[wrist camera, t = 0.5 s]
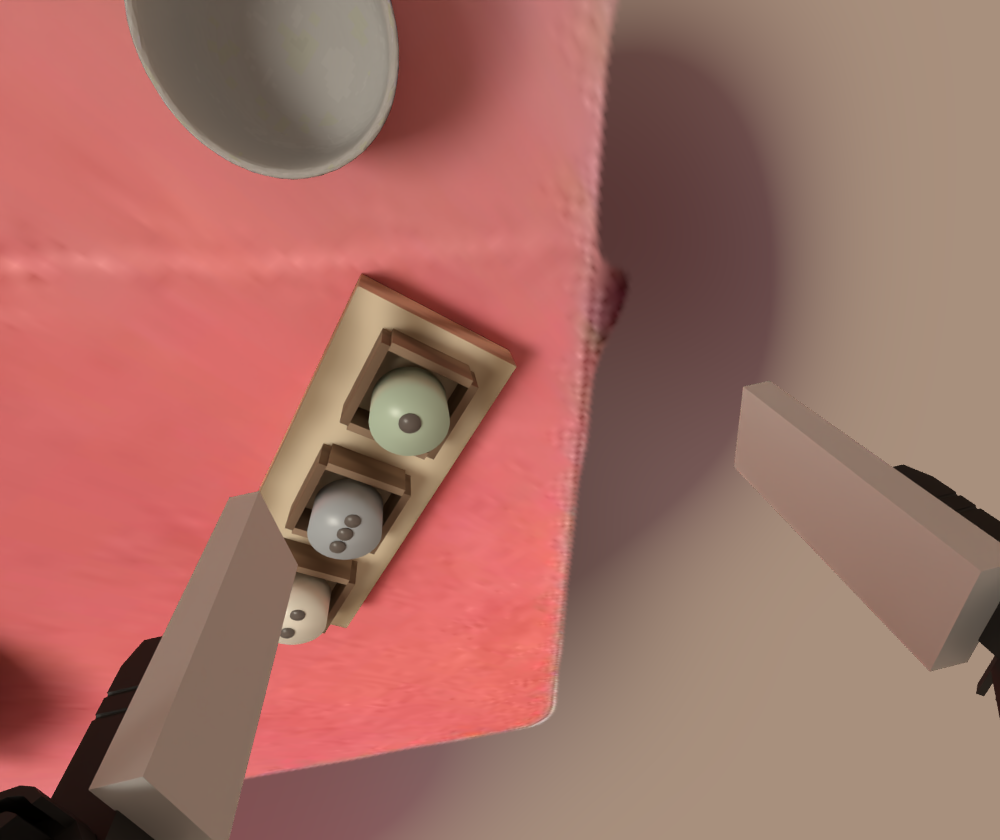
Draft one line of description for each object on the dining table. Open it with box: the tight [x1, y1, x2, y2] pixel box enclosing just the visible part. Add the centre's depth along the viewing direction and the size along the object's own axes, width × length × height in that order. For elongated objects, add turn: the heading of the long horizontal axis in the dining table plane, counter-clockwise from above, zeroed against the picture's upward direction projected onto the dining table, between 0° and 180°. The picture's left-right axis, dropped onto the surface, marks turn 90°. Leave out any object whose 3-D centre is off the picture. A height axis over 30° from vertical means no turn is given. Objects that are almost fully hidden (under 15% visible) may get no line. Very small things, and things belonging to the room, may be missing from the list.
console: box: [259, 274, 517, 633], centre depth 39 cm, size 12×30×6 cm, turn 148°
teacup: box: [124, 0, 399, 179], centre depth 23 cm, size 14×11×8 cm
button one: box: [369, 367, 450, 456], centre depth 33 cm, size 5×5×3 cm
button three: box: [307, 479, 383, 560], centre depth 36 cm, size 5×5×3 cm
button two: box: [278, 572, 331, 645], centre depth 40 cm, size 5×5×3 cm
